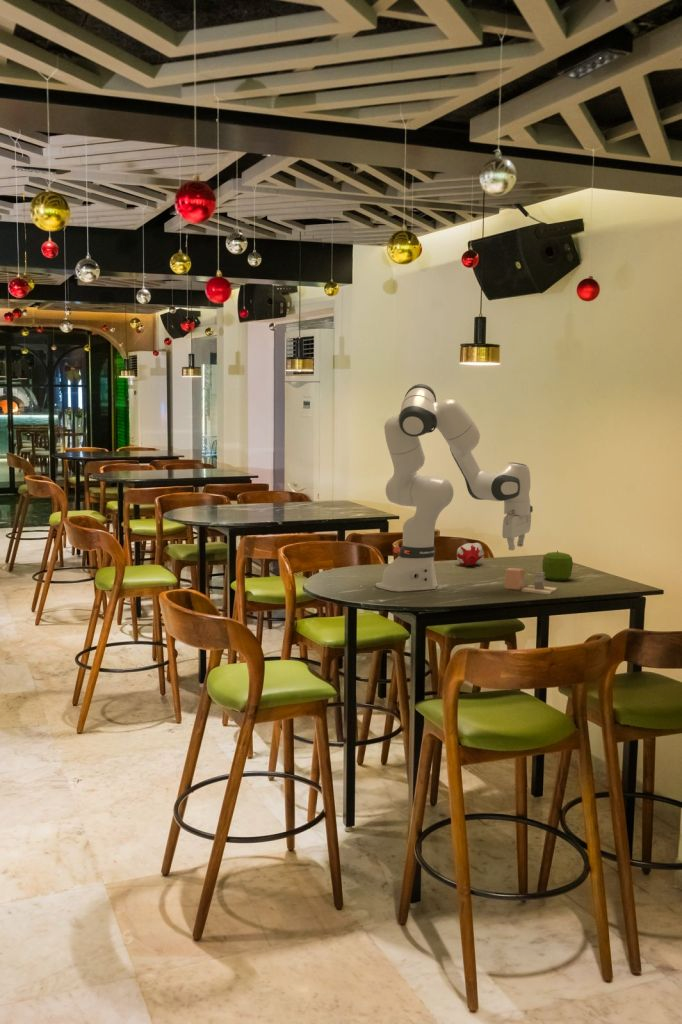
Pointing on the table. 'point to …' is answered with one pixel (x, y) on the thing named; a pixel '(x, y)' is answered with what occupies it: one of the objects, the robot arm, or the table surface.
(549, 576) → the apple
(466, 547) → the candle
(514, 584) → the salmon orange block
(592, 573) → the table surface
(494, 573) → the table surface
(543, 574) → the post stand
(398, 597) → the table surface
